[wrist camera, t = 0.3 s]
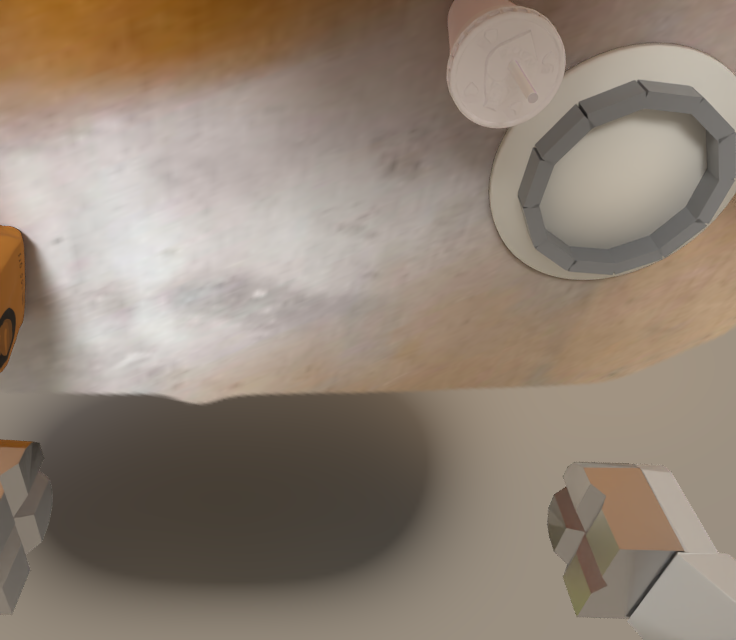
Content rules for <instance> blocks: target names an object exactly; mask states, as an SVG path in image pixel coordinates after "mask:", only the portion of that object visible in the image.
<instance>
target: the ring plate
mask: <svg viewBox="0 0 736 640" xmlns="http://www.w3.org/2000/svg"><path fill="white" fill-rule="evenodd" d="M735 193H736V76H735V75H734V74H733V73H732V72H731V71H730V70H729V69H728V68H726V67H725V66H724V65H723V64H722V63H720V62H719V61H717V60H716V59H714V58H713V57H711V56H709V55H708V54H706V53H704V52H701V51H699V50H696V49H694V48H691V47H687V46H682V45H678V44H672V43H644V44H634V45H630V46H625V47H620V48H616V49H613V50H610V51H607V52H604V53H601V54H598V55H596V56H594V57H591V58H589V59H587V60H585V61H583V62H581V63H579V64H577V65H575V66H574V67H572V68H570V69H569V70H567V71H565V72H564V76H563V79H562V82H561V85H560V87H559V89H558V91H557V93H556V94H555V96H554V97H553V99H552V100H551V101H550V103H549V104H548V105H547V106H546V107H545V108H544V109H543V110H542V111H541V112H540V113H538V114H537V115H536V116H534V117H533V118H531V119H530V120H528V121H526V122H524V123H521V124H519V125H516V126H512V127H509V128H508V130H507V132H506V134H505V136H504V138H503V139H502V141H501V143H500V145H499V148H498V150H497V153H496V156H495V158H494V161H493V165H492V170H491V174H490V182H489V202H490V208H491V212H492V217H493V220H494V223H495V225H496V228H497V230H498V232H499V235H500V237H501V238H502V240H503V242H504V243H505V245H506V246H507V248H508V249H509V250H510V251H511V252H512V253H513V254H514V255H515V256H516V257H517V258H518V259H520V260H521V261H522V262H523V263H525V264H526V265H528V266H530V267H532V268H533V269H535V270H537V271H540V272H542V273H545V274H547V275H551V276H555V277H559V278H565V279H573V280H594V279H604V278H610V277H615V276H620V275H623V274H627V273H631V272H634V271H637V270H639V269H642V268H645V267H647V266H650V265H652V264H654V263H656V262H658V261H660V260H662V259H664V258H666V257H668V256H669V255H671V254H673V253H674V252H676V251H678V250H679V249H681V248H682V247H684V246H685V245H686V244H688V243H689V242H691V241H692V240H693V239H694V238H696V237H697V236H698V235H699V234H700V233H702V232H703V231H704V230H705V229H706V228H707V227H708V226H709V225H710V224H711V223H712V222H713V221H714V220H715V219H716V218H717V217H718V216H719V214H720V213H721V212H722V211H723V210H724V208H725V207H726V206H727V205H728V203H729V202H730V200H731V199H732V197H733V196H734V194H735Z"/></svg>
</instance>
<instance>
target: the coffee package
mask: <svg viewBox="0 0 736 640" xmlns="http://www.w3.org/2000/svg"><path fill="white" fill-rule="evenodd" d="M24 308H25V257H24V243H23V238H22V235H21V233H20V231H19V230H18V229H16V228H14V227H11V226H2V225H0V373H1V372H2V371H3V369H4V368H5V367H6V365H7V363H8V361H9V358H10V355H11V352H12V349H13V346H14V344H15V341H16V337H17V334H18V331H19V328H20V326H21V325H22V323H23V318H24Z"/></svg>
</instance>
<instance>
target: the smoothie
mask: <svg viewBox="0 0 736 640" xmlns="http://www.w3.org/2000/svg"><path fill="white" fill-rule="evenodd" d="M448 33H449V46H450V56H449V59H448V62H447V75H446V80H447V84H448V89H449V93H450V95H451V97H452V99H453V101H454V102H455V104H456V106H457V107H458V109H459V110H460V112H461V113H462V114H463V115H464V116H465V117H466V118H468V119H469V120H470V121H472V122H474V123H476V124H478V125H480V126H484V127H488V128H508V127H512V126H516V125H519V124H521V123H524V122H526V121H528V120H530V119H531V118H533V117H534V116H536V115H537V114H538V113H540V112H541V111H542V110H543V109H544V108H545V107H546V106H547V105H548V104H549V103H550V101H551V100H552V99H553V97H554V96H555V94H556V93H557V91H558V89H559V87H560V85H561V82H562V79H563V76H564V72H565V65H566V55H565V48H564V45H563V42H562V39H561V37H560V35H559V34H558V32H557V30H556V28H555V27H554V26H553V24H552V23H551V22H550V21H549V19H548V18H547V17H545V16H544V15H542V14H541V13H539V12H538V11H536V10H534V9H530V8H526V7H522V6H517V5H515V4H513V3H512V2H510V1H509V0H454V2H453V3H452V5H451V7H450V10H449V13H448Z"/></svg>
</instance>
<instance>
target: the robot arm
mask: <svg viewBox="0 0 736 640" xmlns="http://www.w3.org/2000/svg"><path fill="white" fill-rule="evenodd" d="M43 460H44V456H43V453H42V449H41V446H40V443H37V442H30V441H15V440H0V615H12V614H13V611H14V609H15V607H16V604H17V602H18V599H19V597H20V594H21V592H22V589H23V587H24V585H25V582H26V580H27V577H28V574H29V572H30V567H29V564H28V561H27V558H26V554H27V553H29V552H30V551H31V550H32V549H34V548H35V547H36V546H37V545H39V544H40V543H41V542H42V540H43V537H44V535H45V532H46V529H47V527H48V524H49V520H50V514H51V509H52V487H51V482H50V478H48V477H47V476H46V475H44V474H43V473H42V472H40V471H39V469H40V467H41V465H42V462H43ZM563 479H564V481H565V484H566V487H565V488H563V489H562V490H560V491H559V492H557V493H556V494H554V496H553V498H552V501H551V503H550V505H549V508H548V521H547V522H548V523H547V525H548V532H549V538H550V541H551V544H552V547H553V550H554V552H555V553H556V554H557V555H558V556H559V557H560V558H561V559H562V560H563V561H564V562H565V563H566V564H567V567H566V570H565V573H564V575H563V579H564V582H565V585H566V588H567V590H568V594H569V596H570V599H571V602H572V605H573V608H574V611H575V614H576V616H577V617H591V618H621V619H622V618H623V619H628V621H627V622H628V623H629V624H630V625H631V627H632V628H633V629H634V630H635V631H636V632H637V633H638V634H639V636H640V637H642V639H643V640H736V560H735V559H734V558H732V557H731V556H730V555H728V554H724V553H718V551H717V550H716V548H715V546H714V544H713V543H712V541H711V539H710V538H709V536H708V534H707V532H706V531H705V529H704V528H703V526H702V524H701V522H700V521H699V519H698V517H697V516H696V514H695V512H694V510H693V509H692V507H691V505H690V503H689V502H688V500H687V498H686V497H685V495H684V493H683V491H682V490H681V488H680V487H679V485H678V483H677V481H676V480H675V478H674V476H673V474H672V473H671V471H670V470H669V469H667V468H666V467H665V466H664V465H648V464H629V463H595V462H574V463H572V464H571V465H570V466H568V467H567V470H566V471H565V473H564V475H563Z"/></svg>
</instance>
